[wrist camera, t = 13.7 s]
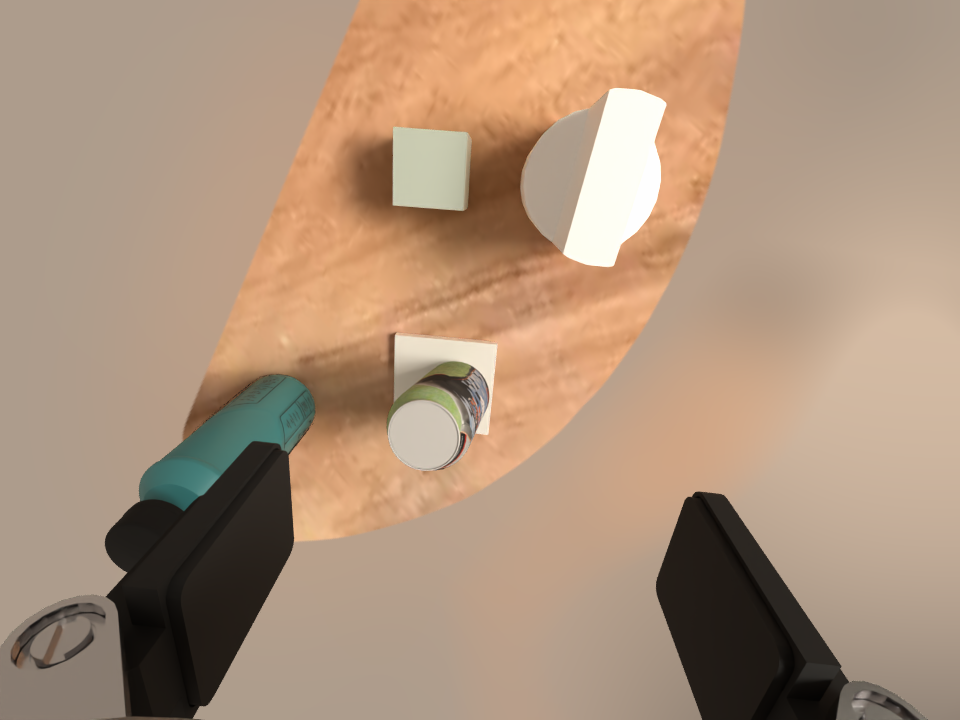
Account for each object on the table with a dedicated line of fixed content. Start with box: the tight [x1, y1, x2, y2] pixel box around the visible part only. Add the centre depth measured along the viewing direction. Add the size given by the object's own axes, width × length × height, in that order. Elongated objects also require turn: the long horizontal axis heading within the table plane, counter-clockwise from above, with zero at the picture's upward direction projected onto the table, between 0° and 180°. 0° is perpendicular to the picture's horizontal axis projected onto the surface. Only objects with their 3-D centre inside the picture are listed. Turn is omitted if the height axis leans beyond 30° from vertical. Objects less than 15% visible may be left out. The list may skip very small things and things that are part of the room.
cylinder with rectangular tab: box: [520, 88, 666, 267], centre depth 30 cm, size 9×9×12 cm
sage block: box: [393, 127, 472, 211], centre depth 34 cm, size 5×5×5 cm
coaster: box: [394, 332, 497, 435], centre depth 42 cm, size 9×9×1 cm
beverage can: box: [387, 361, 489, 471], centre depth 36 cm, size 6×7×12 cm
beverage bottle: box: [105, 375, 315, 572], centre depth 34 cm, size 6×7×20 cm
